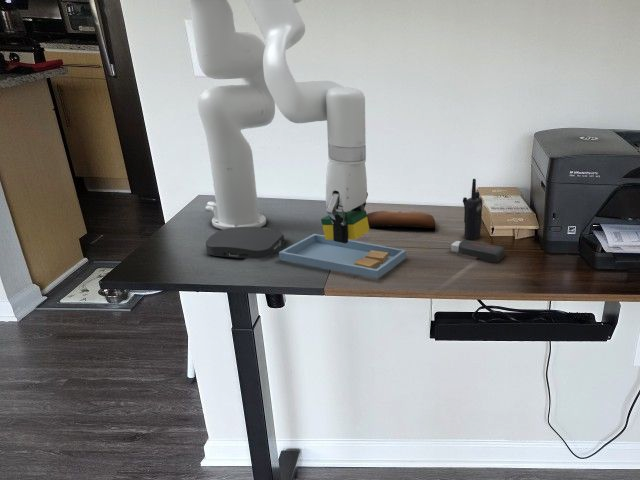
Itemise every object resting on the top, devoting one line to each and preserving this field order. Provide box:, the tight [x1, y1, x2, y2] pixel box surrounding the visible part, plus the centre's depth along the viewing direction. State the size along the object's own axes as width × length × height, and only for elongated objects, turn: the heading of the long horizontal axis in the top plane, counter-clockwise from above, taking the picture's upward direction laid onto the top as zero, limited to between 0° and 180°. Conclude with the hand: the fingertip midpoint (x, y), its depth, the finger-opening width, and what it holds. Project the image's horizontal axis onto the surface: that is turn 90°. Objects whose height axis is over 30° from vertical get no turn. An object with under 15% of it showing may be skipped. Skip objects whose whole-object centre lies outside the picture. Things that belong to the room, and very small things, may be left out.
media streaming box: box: [205, 226, 285, 259], centre depth 152 cm, size 15×15×3 cm
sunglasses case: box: [367, 210, 436, 231], centre depth 173 cm, size 18×7×7 cm
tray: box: [278, 233, 407, 280], centre depth 150 cm, size 23×14×2 cm, turn 73°
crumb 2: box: [365, 250, 388, 264], centre depth 150 cm, size 4×4×1 cm
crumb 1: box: [354, 257, 380, 269], centre depth 146 cm, size 4×4×1 cm
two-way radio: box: [462, 178, 483, 241], centre depth 167 cm, size 6×4×15 cm
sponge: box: [320, 210, 371, 240], centre depth 146 cm, size 8×6×4 cm
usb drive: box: [450, 239, 506, 264], centre depth 159 cm, size 5×12×3 cm, turn 70°
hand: (349, 236), depth 147 cm, fingers closed on sponge, 6 cm apart
